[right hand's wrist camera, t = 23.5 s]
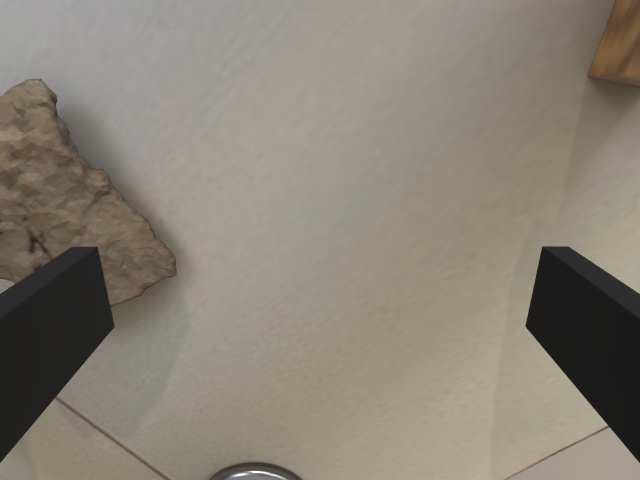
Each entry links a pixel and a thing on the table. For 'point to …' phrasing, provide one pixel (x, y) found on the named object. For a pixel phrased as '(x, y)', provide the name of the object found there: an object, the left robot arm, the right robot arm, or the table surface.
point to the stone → (66, 202)
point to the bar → (620, 46)
